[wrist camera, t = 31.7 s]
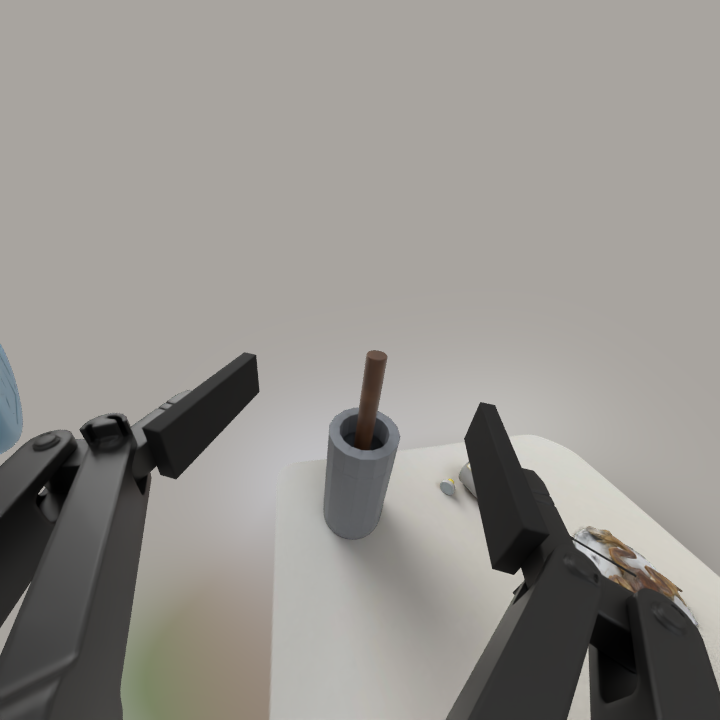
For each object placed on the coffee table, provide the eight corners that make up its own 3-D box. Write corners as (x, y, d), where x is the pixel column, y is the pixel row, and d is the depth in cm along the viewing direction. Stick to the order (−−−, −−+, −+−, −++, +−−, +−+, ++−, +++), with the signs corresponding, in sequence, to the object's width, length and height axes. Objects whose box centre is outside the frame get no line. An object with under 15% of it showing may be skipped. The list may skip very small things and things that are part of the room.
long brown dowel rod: (341, 517, 34) (361, 362, 23) (341, 494, 37) (359, 346, 26) (364, 516, 35) (396, 364, 23) (362, 494, 38) (390, 348, 26)
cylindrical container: (322, 540, 32) (328, 459, 25) (324, 483, 39) (330, 406, 32) (384, 538, 33) (407, 460, 26) (376, 483, 40) (392, 408, 33)
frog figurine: (720, 693, 25) (754, 682, 23) (571, 593, 30) (589, 578, 29) (681, 579, 33) (703, 565, 31) (570, 517, 39) (584, 502, 37)
